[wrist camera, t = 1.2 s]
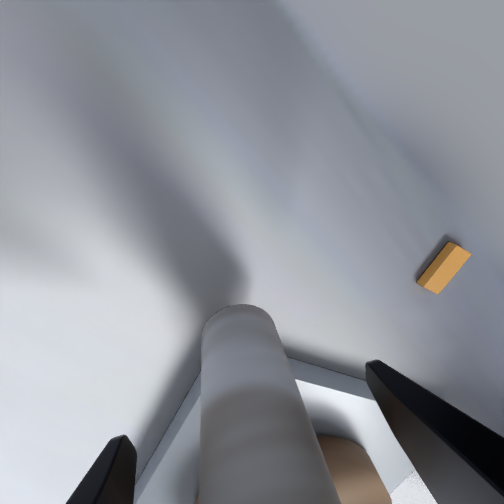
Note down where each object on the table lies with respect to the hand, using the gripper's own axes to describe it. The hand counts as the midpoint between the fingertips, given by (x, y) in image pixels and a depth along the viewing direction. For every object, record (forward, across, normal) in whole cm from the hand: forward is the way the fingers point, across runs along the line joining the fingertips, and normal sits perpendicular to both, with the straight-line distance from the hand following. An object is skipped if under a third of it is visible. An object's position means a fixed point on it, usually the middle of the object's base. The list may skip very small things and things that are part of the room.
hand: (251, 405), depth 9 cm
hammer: (+3, 0, +9) cm, 10 cm away
